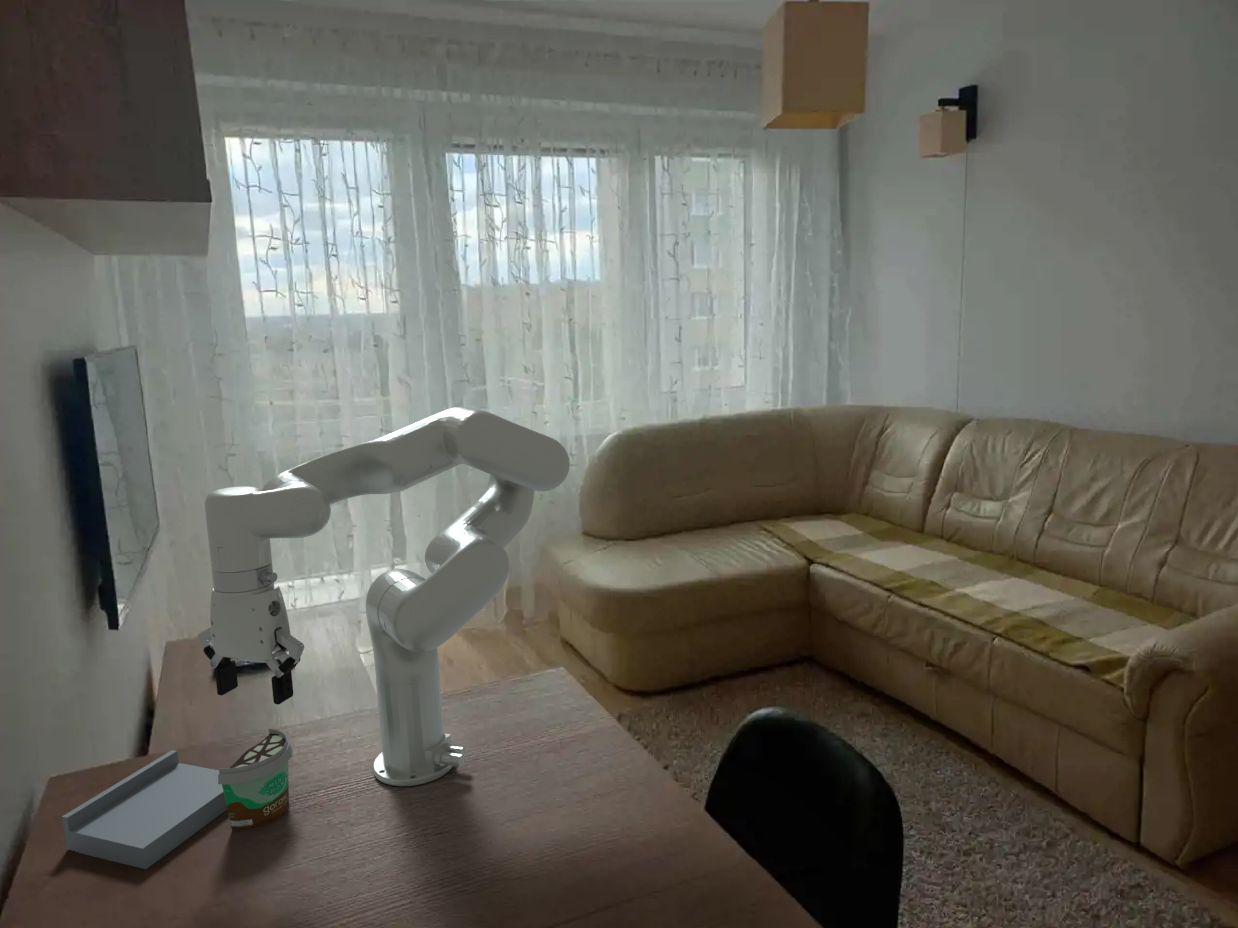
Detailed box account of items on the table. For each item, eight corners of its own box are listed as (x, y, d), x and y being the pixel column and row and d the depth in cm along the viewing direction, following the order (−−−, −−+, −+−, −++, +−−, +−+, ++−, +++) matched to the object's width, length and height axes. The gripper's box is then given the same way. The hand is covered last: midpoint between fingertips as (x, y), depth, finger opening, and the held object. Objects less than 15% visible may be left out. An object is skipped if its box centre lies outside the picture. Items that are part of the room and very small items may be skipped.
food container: (264, 841, 114) (256, 774, 112) (224, 837, 115) (216, 770, 113) (314, 790, 125) (308, 729, 124) (278, 787, 127) (271, 726, 125)
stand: (248, 793, 125) (244, 763, 124) (145, 869, 108) (140, 834, 108) (176, 779, 130) (172, 749, 129) (67, 849, 113) (61, 816, 112)
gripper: (314, 574, 114) (324, 691, 117) (214, 565, 120) (227, 677, 123) (275, 591, 107) (287, 715, 110) (171, 580, 113) (185, 699, 116)
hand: (255, 695), depth 117 cm, fingers open, 9 cm apart
